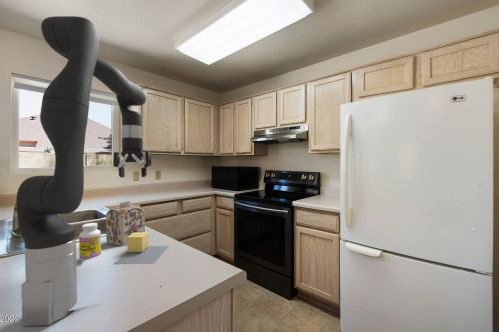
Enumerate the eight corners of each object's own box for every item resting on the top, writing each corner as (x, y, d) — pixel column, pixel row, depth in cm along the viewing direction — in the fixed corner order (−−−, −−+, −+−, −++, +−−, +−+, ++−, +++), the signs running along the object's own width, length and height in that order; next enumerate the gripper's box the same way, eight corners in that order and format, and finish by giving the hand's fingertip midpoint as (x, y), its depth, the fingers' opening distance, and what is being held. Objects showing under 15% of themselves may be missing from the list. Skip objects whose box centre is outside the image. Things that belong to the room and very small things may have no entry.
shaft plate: (153, 266, 78) (153, 251, 78) (113, 267, 78) (112, 252, 77) (169, 248, 94) (169, 236, 94) (135, 249, 94) (135, 236, 93)
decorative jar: (129, 235, 111) (128, 199, 111) (146, 238, 106) (145, 200, 106) (105, 243, 100) (104, 203, 100) (122, 247, 95) (121, 205, 95)
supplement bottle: (76, 263, 81) (75, 227, 81) (84, 255, 88) (83, 222, 87) (97, 260, 83) (96, 226, 83) (103, 253, 89) (103, 221, 89)
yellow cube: (142, 251, 87) (141, 236, 87) (127, 252, 87) (127, 236, 87) (148, 246, 92) (148, 231, 92) (134, 246, 92) (134, 231, 92)
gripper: (153, 138, 95) (154, 176, 96) (119, 138, 95) (120, 176, 95) (145, 136, 88) (146, 177, 88) (108, 136, 88) (109, 178, 88)
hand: (132, 177), depth 92 cm, fingers open, 8 cm apart
